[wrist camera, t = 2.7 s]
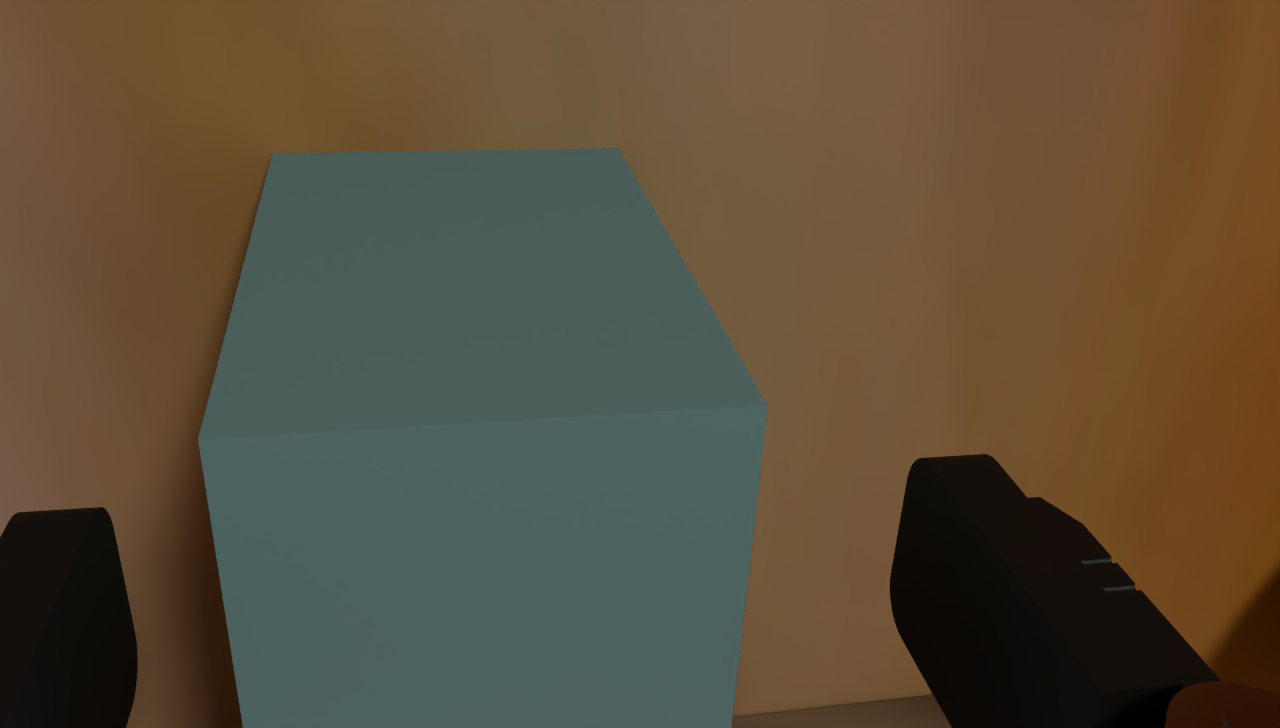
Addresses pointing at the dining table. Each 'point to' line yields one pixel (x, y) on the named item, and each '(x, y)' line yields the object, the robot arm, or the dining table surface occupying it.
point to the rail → (856, 716)
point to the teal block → (477, 451)
